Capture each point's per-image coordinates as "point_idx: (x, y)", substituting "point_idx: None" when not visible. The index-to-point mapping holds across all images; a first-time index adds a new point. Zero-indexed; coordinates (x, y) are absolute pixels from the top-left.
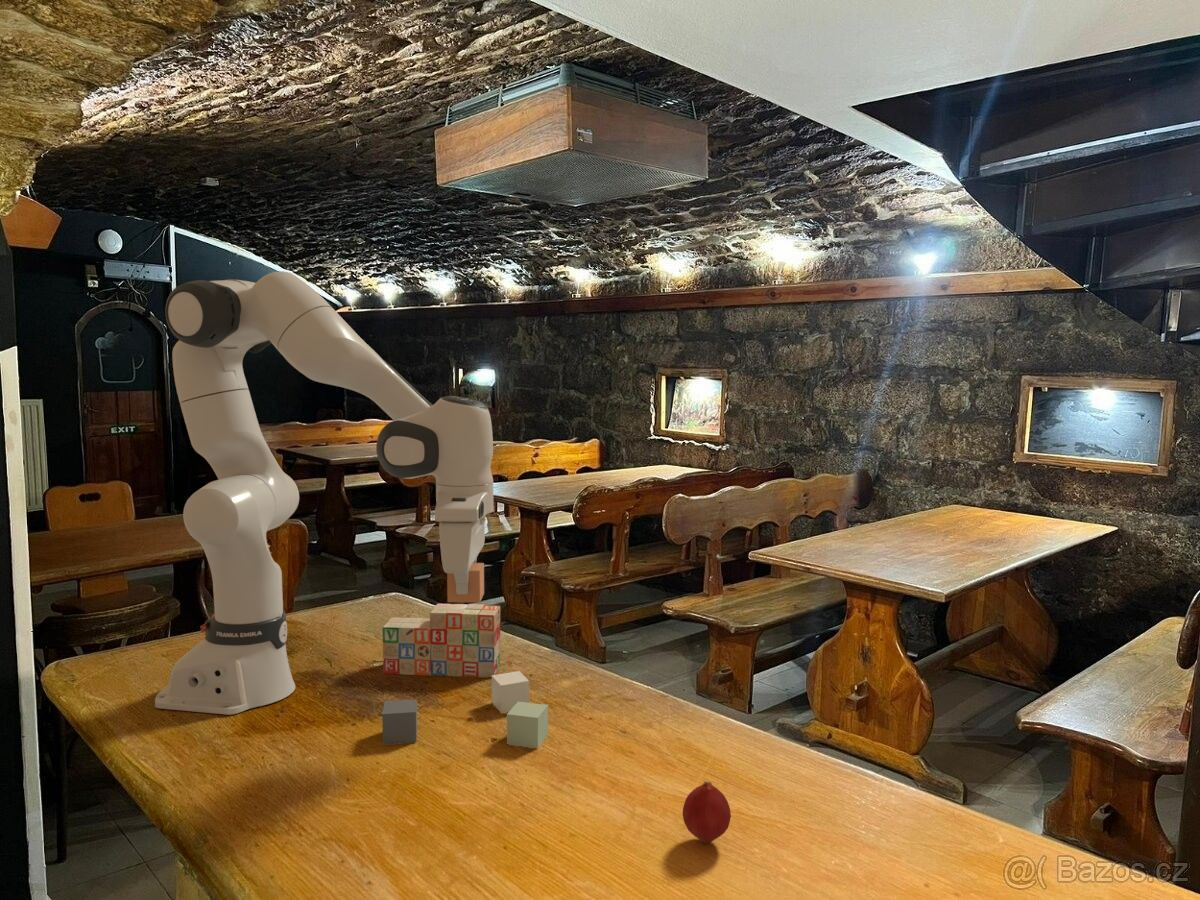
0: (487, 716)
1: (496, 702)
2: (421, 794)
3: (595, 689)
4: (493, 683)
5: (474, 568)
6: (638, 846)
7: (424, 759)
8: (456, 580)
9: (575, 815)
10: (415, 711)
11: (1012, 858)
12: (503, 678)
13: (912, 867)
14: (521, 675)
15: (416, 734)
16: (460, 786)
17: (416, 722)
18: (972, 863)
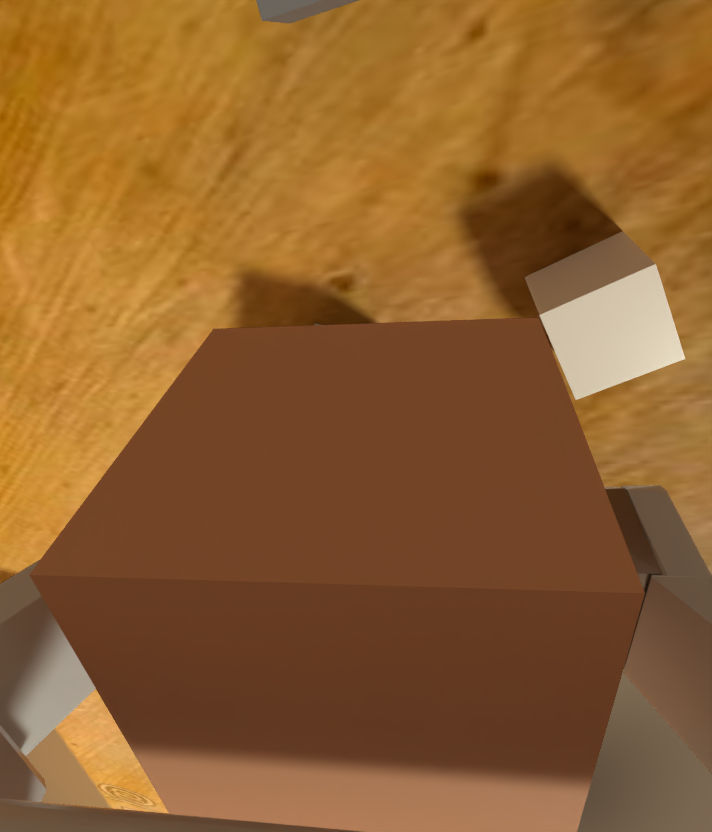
0: (506, 236)
1: (574, 262)
2: (4, 151)
3: (676, 505)
4: (623, 266)
5: (266, 803)
6: (18, 546)
7: (183, 97)
8: (2, 597)
9: (61, 472)
10: (267, 16)
11: (147, 798)
12: (613, 314)
13: (100, 744)
14: (634, 371)
15: (311, 14)
16: (77, 245)
17: (320, 7)
18: (126, 777)
